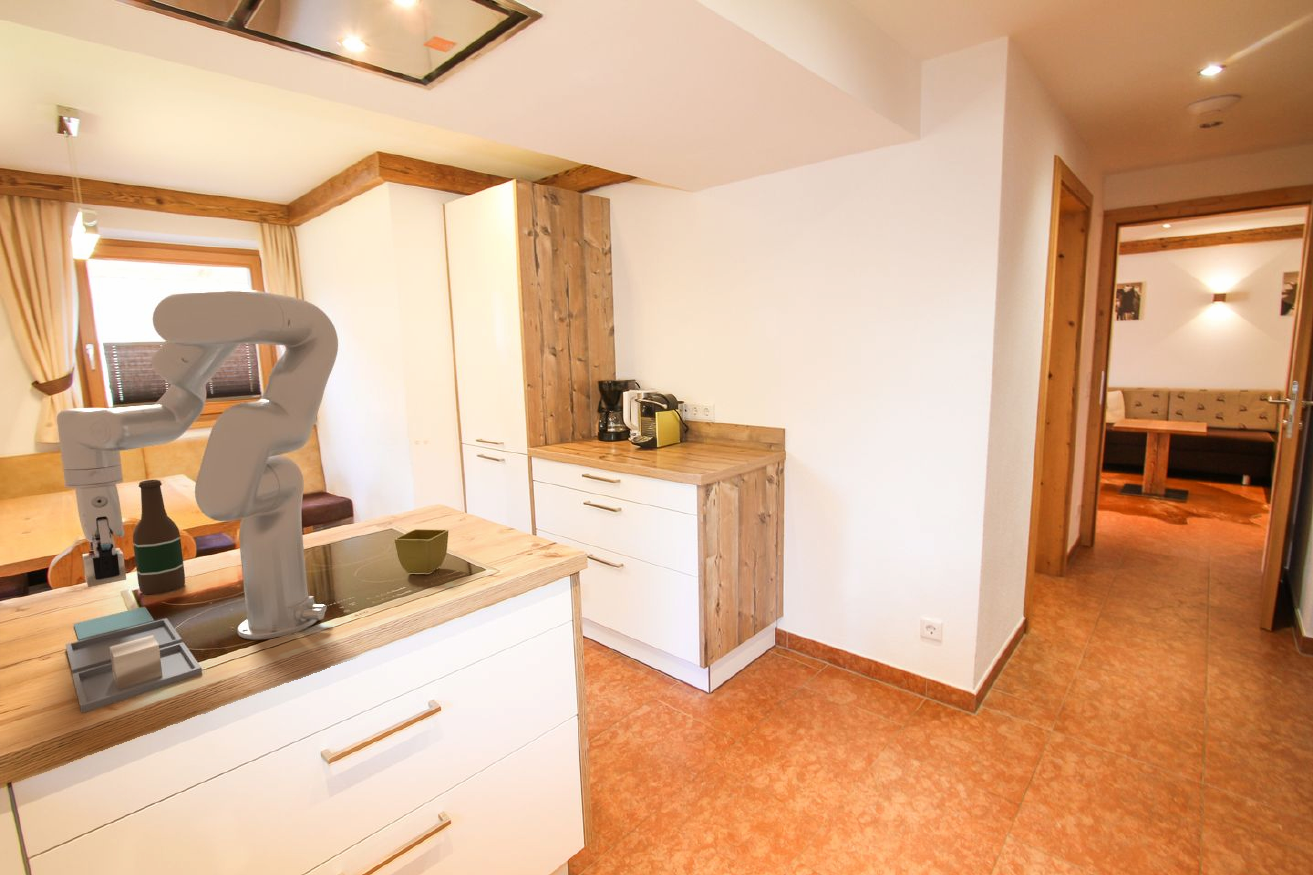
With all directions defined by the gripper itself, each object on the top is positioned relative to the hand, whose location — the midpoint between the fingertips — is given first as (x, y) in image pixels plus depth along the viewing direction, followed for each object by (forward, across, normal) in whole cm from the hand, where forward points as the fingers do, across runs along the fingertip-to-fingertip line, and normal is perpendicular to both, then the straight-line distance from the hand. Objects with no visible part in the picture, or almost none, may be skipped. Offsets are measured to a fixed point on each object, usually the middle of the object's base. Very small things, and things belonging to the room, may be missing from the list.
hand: (105, 572), depth 106 cm
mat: (+10, 0, 0) cm, 10 cm away
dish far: (+10, -14, 0) cm, 18 cm away
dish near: (+10, -29, 0) cm, 31 cm away
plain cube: (+10, -29, 0) cm, 31 cm away
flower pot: (+10, -18, -52) cm, 55 cm away
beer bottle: (+11, +17, -10) cm, 22 cm away
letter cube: (+1, 0, 0) cm, 1 cm away
